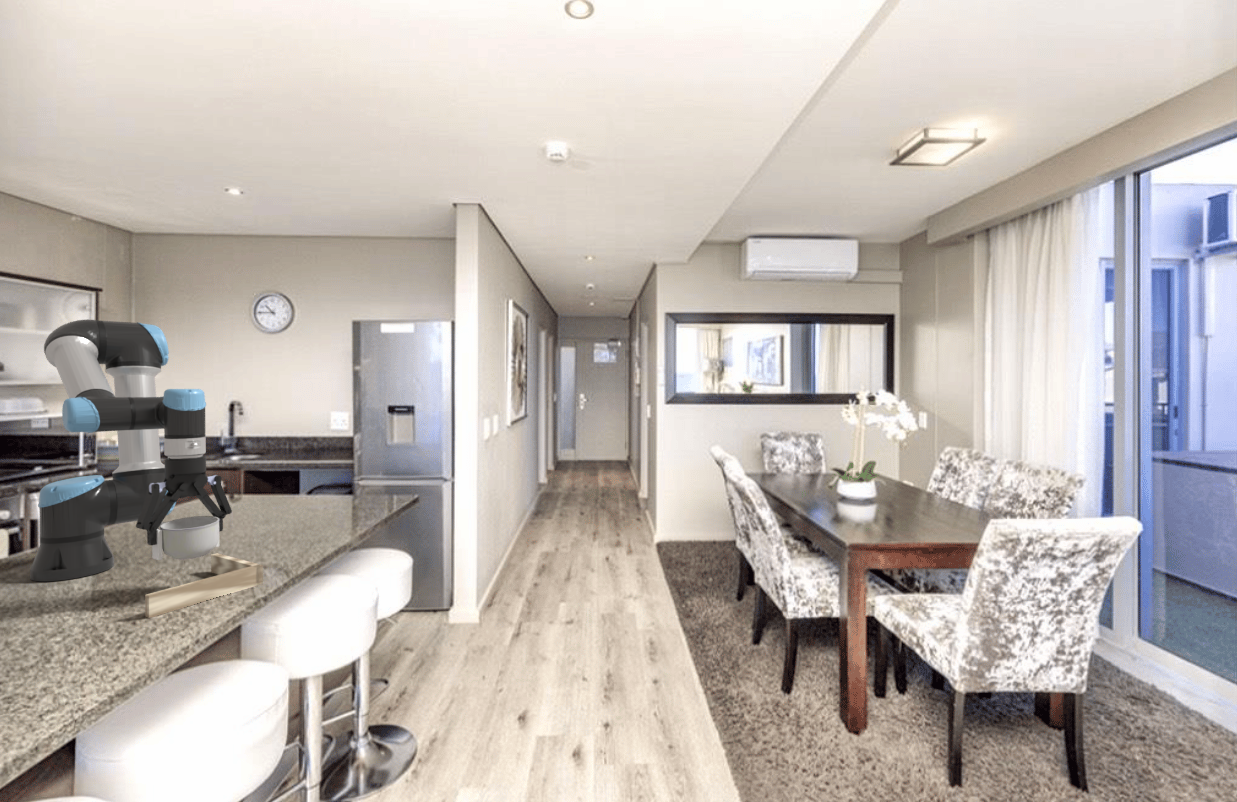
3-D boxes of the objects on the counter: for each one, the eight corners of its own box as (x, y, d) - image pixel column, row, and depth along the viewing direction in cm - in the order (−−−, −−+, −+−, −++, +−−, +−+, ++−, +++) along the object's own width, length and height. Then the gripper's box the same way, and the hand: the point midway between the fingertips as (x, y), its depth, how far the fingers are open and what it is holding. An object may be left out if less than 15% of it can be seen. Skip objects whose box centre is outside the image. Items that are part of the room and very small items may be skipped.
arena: (104, 600, 124) (104, 579, 123) (217, 570, 143) (217, 553, 143) (149, 618, 114) (148, 596, 114) (262, 583, 134) (262, 565, 134)
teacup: (231, 550, 133) (231, 517, 133) (187, 564, 122) (187, 527, 122) (182, 547, 136) (182, 514, 136) (135, 560, 125) (135, 524, 125)
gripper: (130, 463, 117) (132, 568, 117) (248, 452, 137) (249, 542, 138) (114, 461, 120) (115, 563, 121) (230, 450, 141) (232, 538, 142)
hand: (187, 552), depth 129 cm, fingers closed on teacup, 11 cm apart
